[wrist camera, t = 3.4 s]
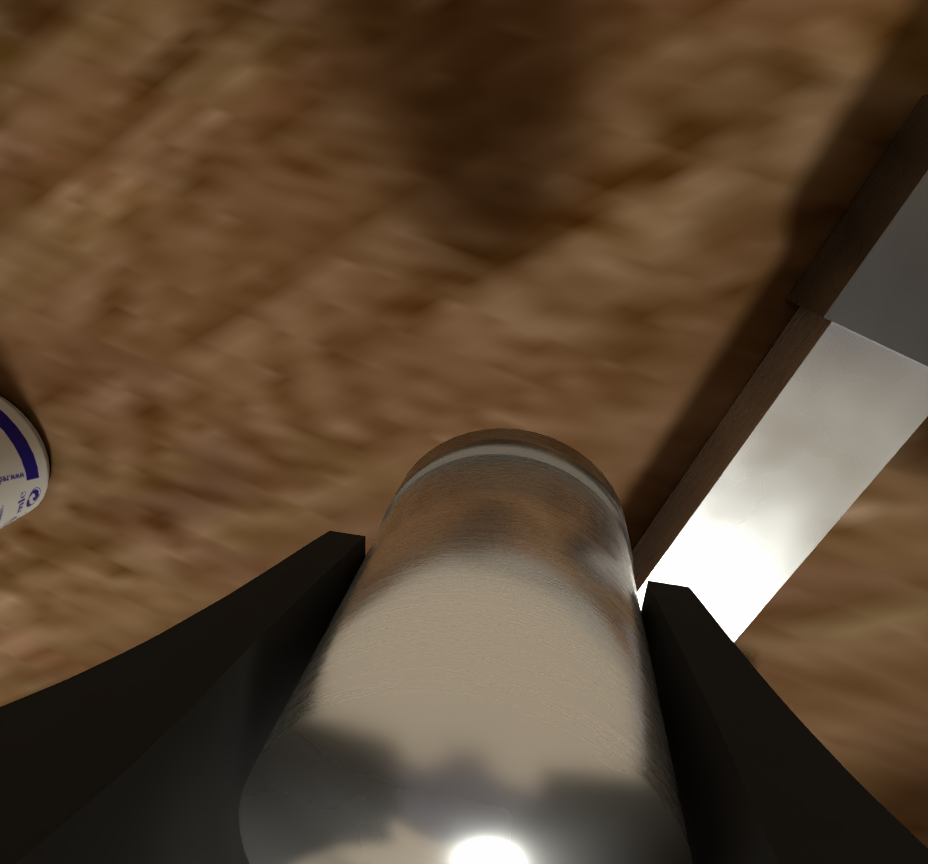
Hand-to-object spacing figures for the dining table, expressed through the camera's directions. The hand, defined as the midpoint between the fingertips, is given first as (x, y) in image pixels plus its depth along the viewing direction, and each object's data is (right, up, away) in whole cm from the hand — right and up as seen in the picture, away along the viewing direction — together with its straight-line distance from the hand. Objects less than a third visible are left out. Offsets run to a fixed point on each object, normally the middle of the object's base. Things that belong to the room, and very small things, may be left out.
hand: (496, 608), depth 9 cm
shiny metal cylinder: (0, +1, +2) cm, 2 cm away
